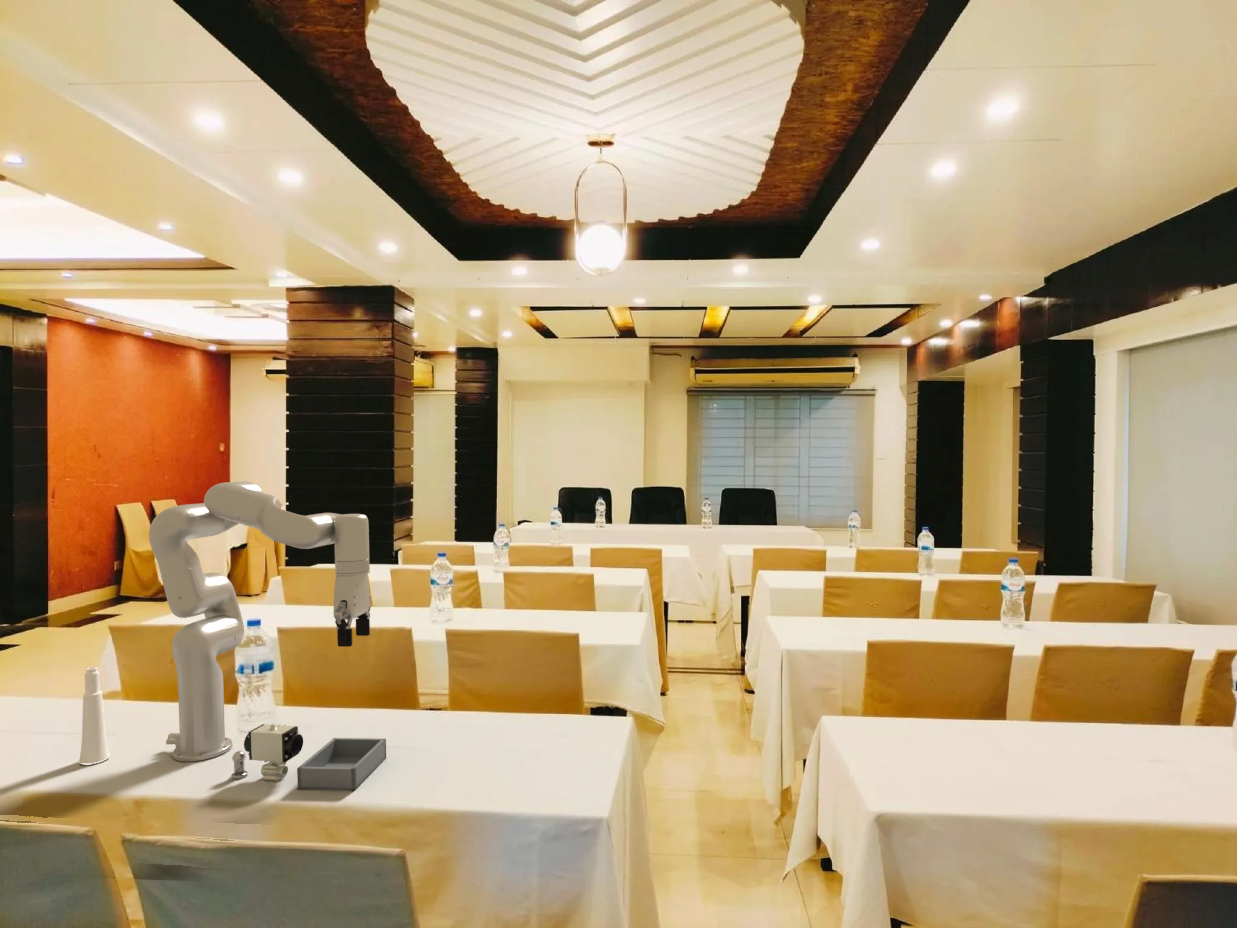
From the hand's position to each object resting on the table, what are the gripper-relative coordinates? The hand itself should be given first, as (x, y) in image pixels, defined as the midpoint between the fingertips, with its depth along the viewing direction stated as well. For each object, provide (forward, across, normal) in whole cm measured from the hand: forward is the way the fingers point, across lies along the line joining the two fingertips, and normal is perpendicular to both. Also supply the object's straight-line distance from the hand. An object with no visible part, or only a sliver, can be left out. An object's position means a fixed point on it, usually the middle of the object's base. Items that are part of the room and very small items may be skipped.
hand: (354, 640), depth 171 cm
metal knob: (+28, +9, -23) cm, 37 cm away
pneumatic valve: (+28, +9, -14) cm, 33 cm away
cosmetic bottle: (+28, +1, -63) cm, 69 cm away
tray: (+28, +7, 0) cm, 29 cm away
